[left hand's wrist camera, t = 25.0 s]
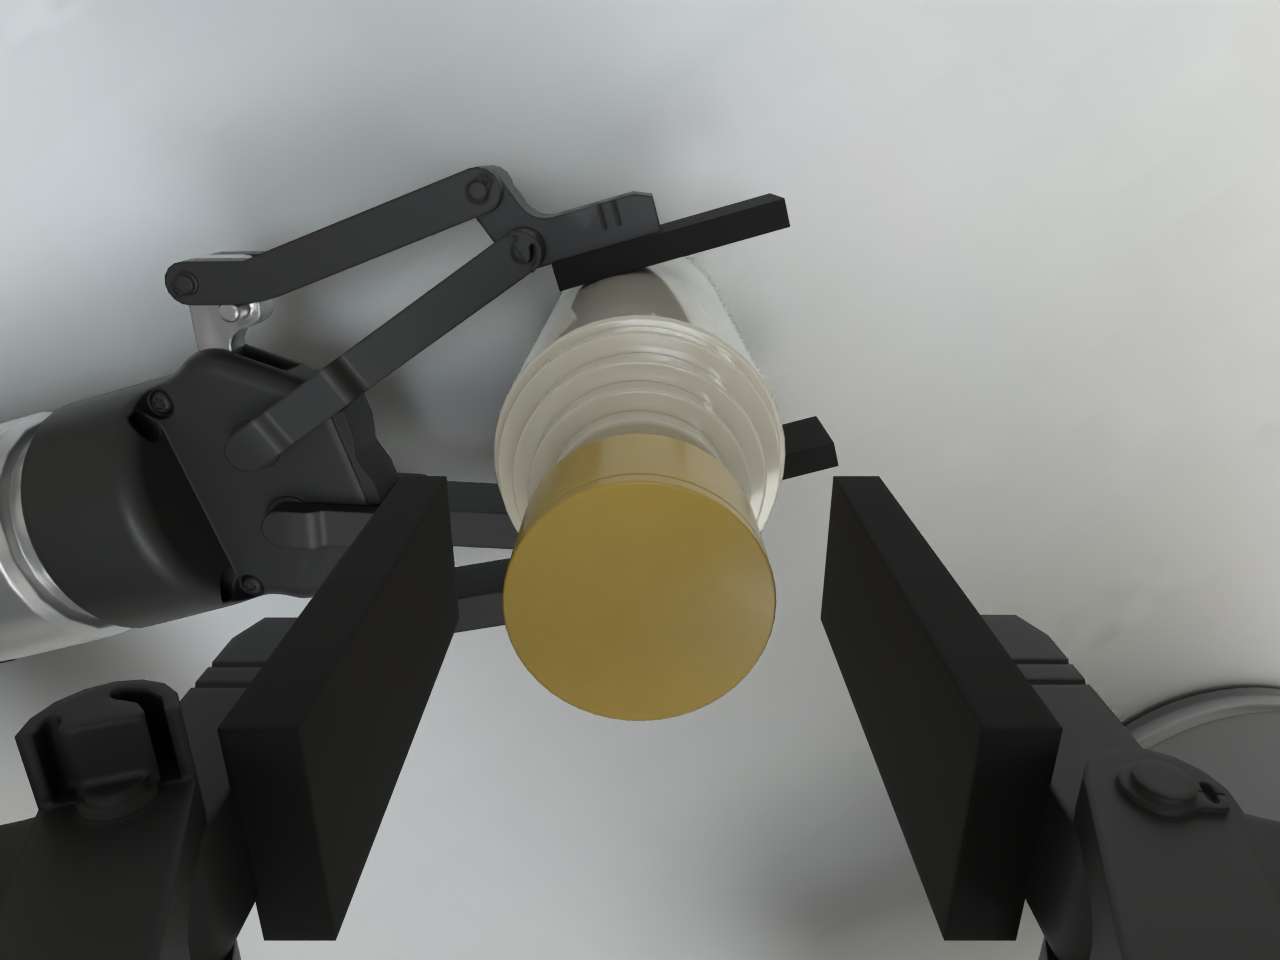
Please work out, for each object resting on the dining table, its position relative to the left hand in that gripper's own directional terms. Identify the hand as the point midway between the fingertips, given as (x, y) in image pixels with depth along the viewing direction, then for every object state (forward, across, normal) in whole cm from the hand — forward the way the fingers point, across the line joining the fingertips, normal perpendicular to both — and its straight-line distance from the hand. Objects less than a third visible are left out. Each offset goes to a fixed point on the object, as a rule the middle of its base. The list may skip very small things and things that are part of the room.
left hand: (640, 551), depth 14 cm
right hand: (+12, -5, -1) cm, 13 cm away
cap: (-2, 0, 0) cm, 2 cm away
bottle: (+18, 0, 0) cm, 18 cm away
